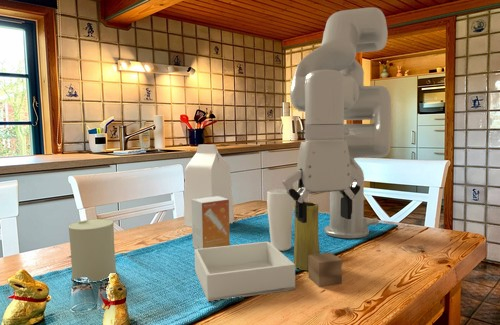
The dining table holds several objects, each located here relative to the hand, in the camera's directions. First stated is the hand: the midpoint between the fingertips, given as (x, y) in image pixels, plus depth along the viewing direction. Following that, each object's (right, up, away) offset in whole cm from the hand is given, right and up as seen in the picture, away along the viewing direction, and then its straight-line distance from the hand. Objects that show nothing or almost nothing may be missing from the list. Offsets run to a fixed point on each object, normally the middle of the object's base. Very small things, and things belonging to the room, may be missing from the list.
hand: (324, 219), depth 80 cm
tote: (-17, -13, +3) cm, 21 cm away
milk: (-28, -9, +51) cm, 59 cm away
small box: (-25, -11, +26) cm, 38 cm away
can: (-49, -14, +7) cm, 51 cm away
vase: (-2, -12, +10) cm, 16 cm away
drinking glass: (-7, -11, +23) cm, 27 cm away
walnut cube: (0, -13, +2) cm, 13 cm away
